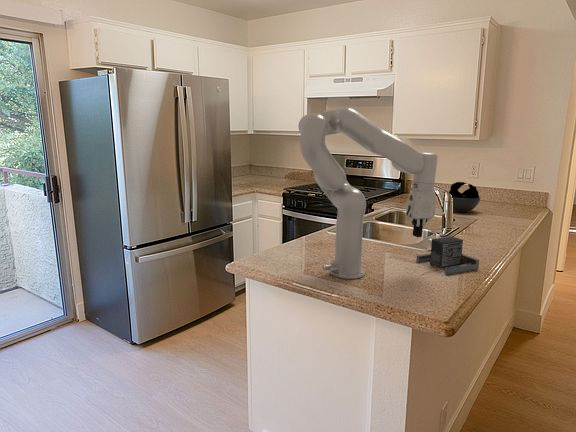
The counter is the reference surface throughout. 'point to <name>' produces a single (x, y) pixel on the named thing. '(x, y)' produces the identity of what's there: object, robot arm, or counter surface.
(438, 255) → the small box
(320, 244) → the counter surface
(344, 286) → the counter surface
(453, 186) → the coal bowl
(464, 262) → the rack bay
